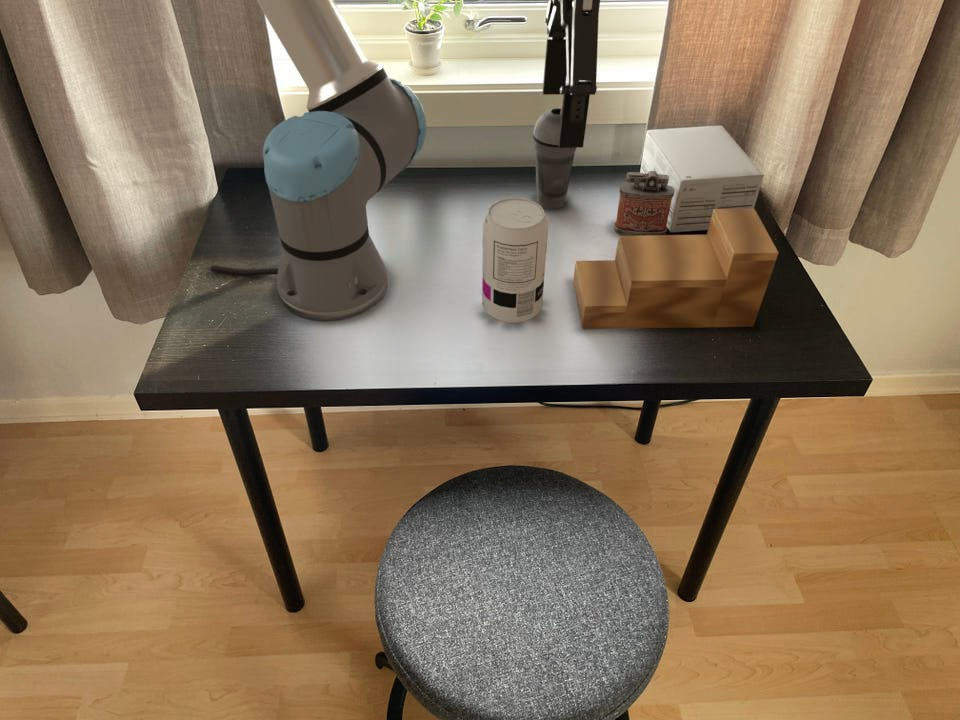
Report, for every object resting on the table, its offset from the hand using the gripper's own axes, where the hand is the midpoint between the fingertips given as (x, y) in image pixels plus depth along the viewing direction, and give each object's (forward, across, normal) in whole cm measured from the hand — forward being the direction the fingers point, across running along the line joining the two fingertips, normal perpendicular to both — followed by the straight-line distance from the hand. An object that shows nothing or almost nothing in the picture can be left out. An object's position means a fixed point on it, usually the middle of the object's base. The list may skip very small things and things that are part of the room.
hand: (561, 118), depth 88 cm
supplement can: (+25, -5, +5) cm, 26 cm away
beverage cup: (+25, +22, -4) cm, 34 cm away
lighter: (+25, +12, -17) cm, 32 cm away
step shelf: (+25, -6, -15) cm, 30 cm away
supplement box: (+25, +20, -27) cm, 42 cm away
